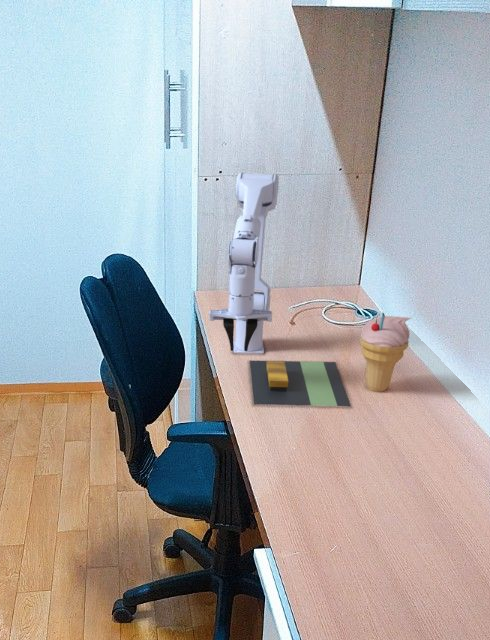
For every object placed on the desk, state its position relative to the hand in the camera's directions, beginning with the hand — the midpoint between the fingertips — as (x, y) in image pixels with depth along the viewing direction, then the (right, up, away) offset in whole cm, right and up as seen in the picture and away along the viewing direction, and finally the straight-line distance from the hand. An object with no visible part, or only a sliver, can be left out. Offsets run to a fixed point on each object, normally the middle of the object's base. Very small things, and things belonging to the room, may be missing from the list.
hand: (238, 349), depth 174 cm
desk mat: (+14, -8, +4) cm, 17 cm away
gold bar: (+9, -7, +4) cm, 12 cm away
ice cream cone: (+33, -9, +2) cm, 35 cm away
